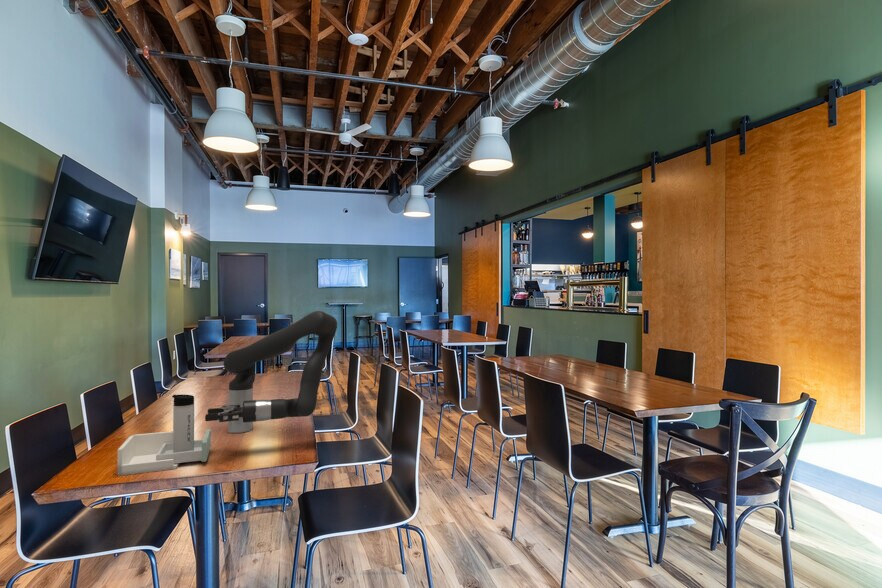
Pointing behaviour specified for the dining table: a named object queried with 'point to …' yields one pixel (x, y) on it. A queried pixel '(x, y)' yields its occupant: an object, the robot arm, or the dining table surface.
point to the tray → (198, 454)
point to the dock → (144, 454)
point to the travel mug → (183, 423)
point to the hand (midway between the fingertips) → (206, 414)
